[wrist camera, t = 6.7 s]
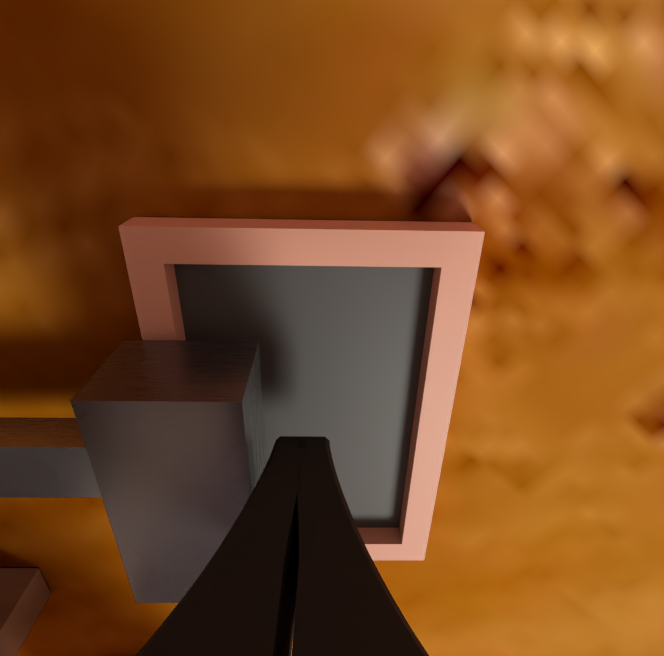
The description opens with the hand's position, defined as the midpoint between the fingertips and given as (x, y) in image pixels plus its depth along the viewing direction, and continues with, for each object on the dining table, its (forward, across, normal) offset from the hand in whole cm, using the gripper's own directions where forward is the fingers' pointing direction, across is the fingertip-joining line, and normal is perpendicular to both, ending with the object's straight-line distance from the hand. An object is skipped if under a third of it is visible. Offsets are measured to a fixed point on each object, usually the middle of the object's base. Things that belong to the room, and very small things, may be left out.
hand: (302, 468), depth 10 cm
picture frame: (+2, 0, 0) cm, 2 cm away
